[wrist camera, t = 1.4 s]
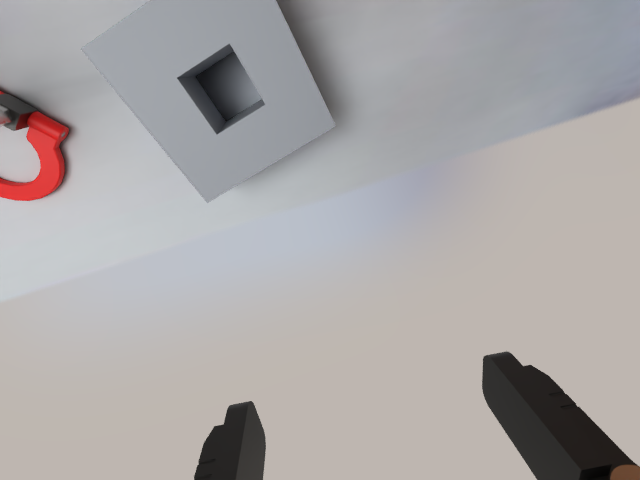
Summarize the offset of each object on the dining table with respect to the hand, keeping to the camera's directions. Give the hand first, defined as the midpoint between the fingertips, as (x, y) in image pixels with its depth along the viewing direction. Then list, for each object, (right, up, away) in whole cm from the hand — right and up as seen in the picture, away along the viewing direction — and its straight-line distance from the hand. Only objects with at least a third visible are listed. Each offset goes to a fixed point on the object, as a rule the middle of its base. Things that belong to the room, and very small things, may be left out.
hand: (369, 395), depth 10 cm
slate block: (-10, +19, +16) cm, 27 cm away
